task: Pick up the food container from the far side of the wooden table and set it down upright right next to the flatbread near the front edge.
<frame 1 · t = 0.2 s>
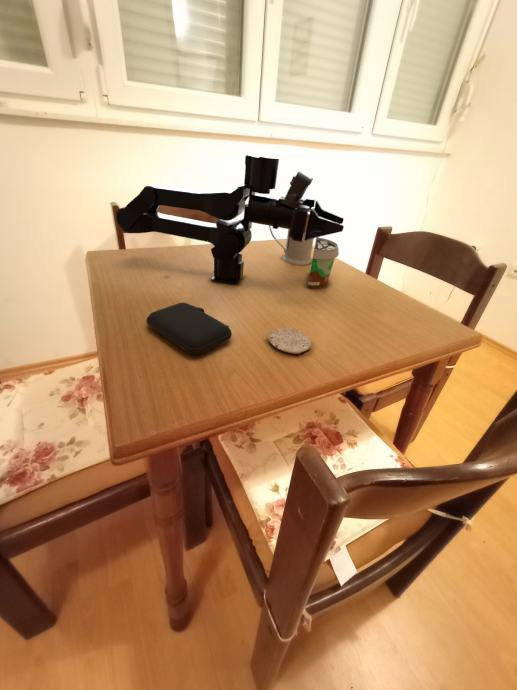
hand: (343, 224, 66), 17 cm above the table, tool horizontal, fingers open, 9 cm apart
food container: (319, 283, 82), on the table
carrying case: (191, 333, 57), on the table
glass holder: (288, 259, 96), on the table
flatbread: (289, 343, 57), on the table
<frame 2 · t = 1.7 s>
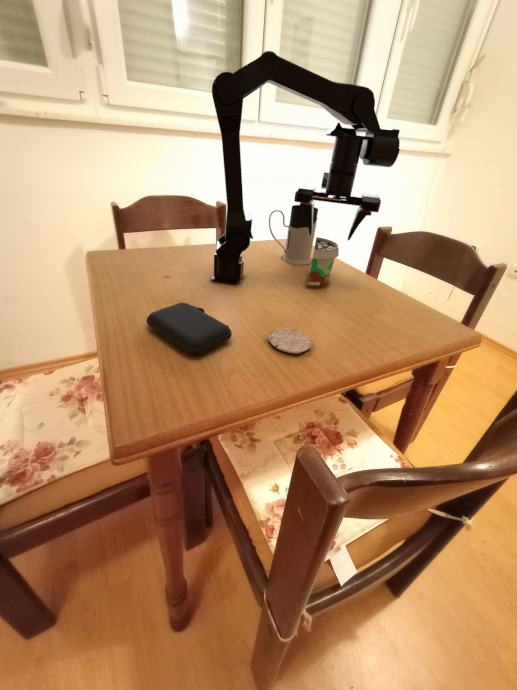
hand: (329, 237, 76), 12 cm above the table, tool pointing down, fingers open, 9 cm apart
nothing on the table moved.
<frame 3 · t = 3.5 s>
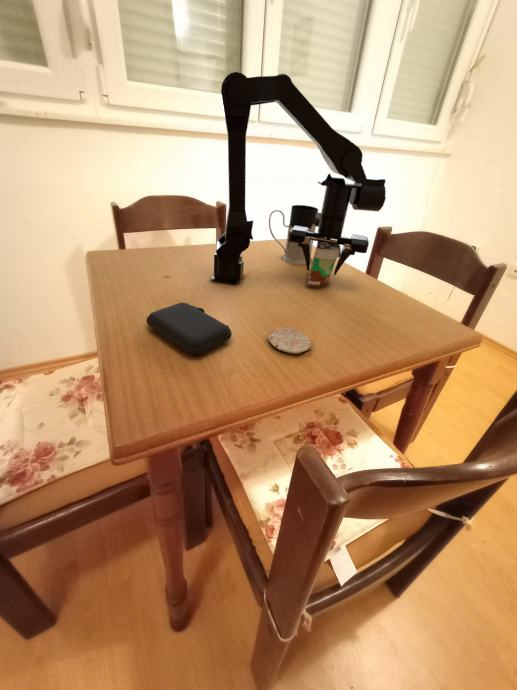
hand: (321, 272, 81), 3 cm above the table, tool pointing down, fingers closed on food container, 6 cm apart
food container: (319, 282, 82), on the table, touching gripper
everything else where it was.
when the fingers open (3 cm above the table, at t = 9.1 s): food container stays where it is, on the table.
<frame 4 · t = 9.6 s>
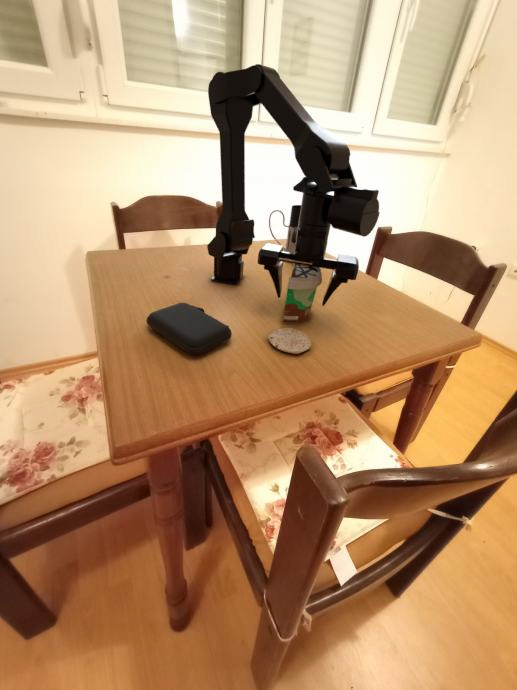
hand: (300, 301, 65), 3 cm above the table, tool pointing down, fingers open, 9 cm apart
food container: (299, 315, 66), on the table
everything else where it was.
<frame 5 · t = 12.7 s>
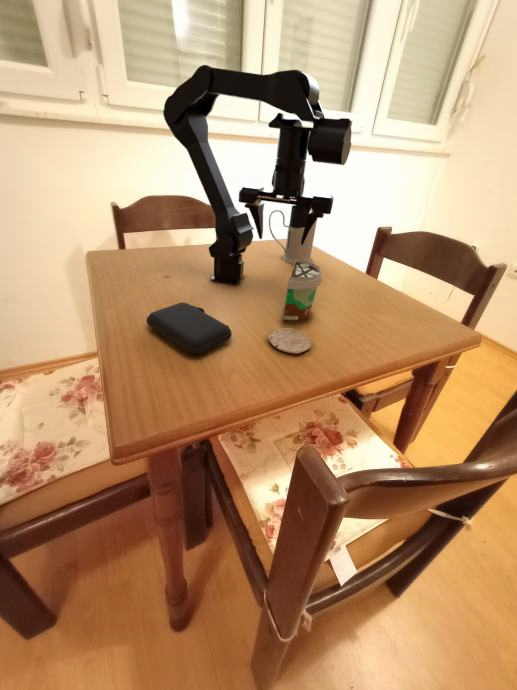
hand: (281, 241, 68), 12 cm above the table, tool pointing down, fingers open, 9 cm apart
nothing on the table moved.
at the end: food container inside the target area on the table beside the flatbread (0.3 cm from its centre), on the table; food container tilted 0°; the gripper is holding nothing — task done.
